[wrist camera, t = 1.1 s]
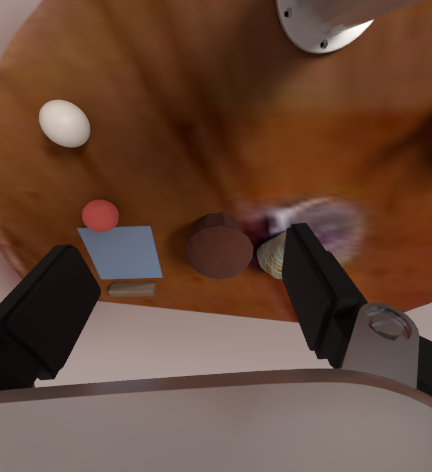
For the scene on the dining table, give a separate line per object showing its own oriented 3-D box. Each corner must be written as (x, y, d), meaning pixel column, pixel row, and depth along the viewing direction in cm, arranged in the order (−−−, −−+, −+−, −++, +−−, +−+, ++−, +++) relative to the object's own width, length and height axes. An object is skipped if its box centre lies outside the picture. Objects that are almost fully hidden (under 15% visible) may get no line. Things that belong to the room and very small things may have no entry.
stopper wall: (112, 282, 51) (108, 291, 48) (155, 281, 51) (152, 290, 49) (114, 288, 52) (110, 297, 50) (156, 287, 52) (154, 295, 50)
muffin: (185, 249, 45) (179, 286, 37) (191, 202, 39) (186, 234, 31) (240, 256, 47) (246, 293, 39) (255, 212, 40) (266, 245, 32)
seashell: (258, 273, 49) (263, 291, 39) (254, 231, 47) (258, 239, 38) (304, 269, 48) (322, 287, 38) (302, 226, 46) (319, 232, 36)
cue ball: (47, 99, 29) (18, 102, 25) (89, 97, 29) (66, 100, 25) (65, 142, 33) (41, 152, 28) (102, 141, 33) (85, 151, 28)
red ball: (86, 194, 38) (69, 209, 33) (118, 193, 38) (105, 208, 33) (97, 221, 41) (83, 239, 36) (126, 220, 41) (116, 238, 36)
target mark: (77, 227, 41) (76, 228, 41) (150, 225, 42) (150, 226, 41) (101, 278, 50) (101, 279, 49) (162, 276, 50) (162, 277, 50)
